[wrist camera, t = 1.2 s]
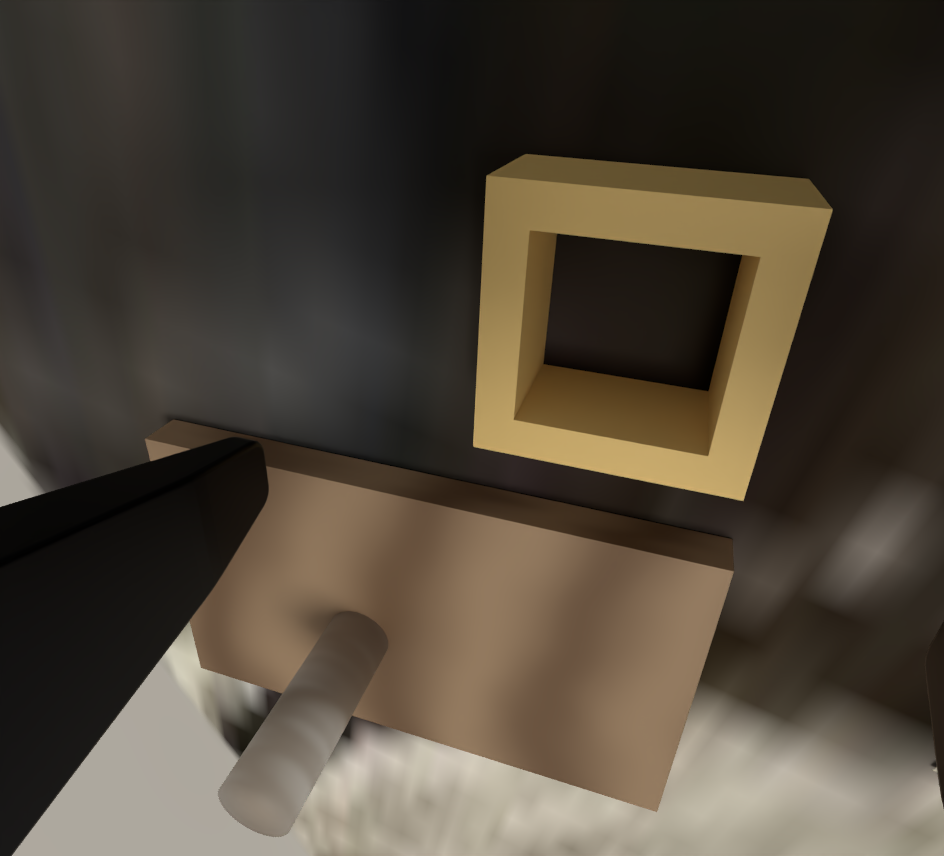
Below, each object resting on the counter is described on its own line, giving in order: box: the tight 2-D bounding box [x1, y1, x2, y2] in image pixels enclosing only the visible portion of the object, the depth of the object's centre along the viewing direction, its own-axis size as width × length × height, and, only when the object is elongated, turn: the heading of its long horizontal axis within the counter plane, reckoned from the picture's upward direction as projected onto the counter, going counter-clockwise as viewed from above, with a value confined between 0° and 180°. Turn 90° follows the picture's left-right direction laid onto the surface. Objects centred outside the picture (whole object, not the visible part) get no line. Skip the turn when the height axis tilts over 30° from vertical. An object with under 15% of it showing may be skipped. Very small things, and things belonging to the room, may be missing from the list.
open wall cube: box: [473, 154, 833, 501], centre depth 16 cm, size 7×7×4 cm
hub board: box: [145, 419, 734, 837], centre depth 22 cm, size 20×12×8 cm, turn 88°
